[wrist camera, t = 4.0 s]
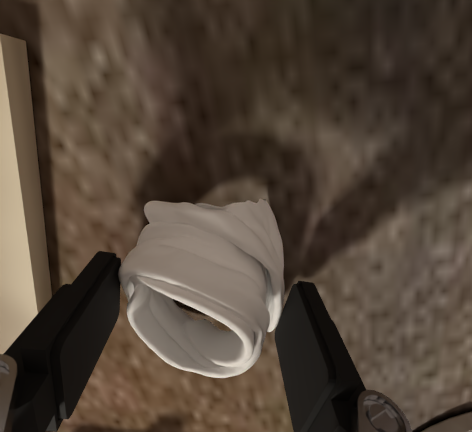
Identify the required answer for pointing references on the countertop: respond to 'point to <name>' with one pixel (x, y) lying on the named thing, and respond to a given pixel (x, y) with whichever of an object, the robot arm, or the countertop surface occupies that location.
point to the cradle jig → (19, 200)
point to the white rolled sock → (206, 283)
